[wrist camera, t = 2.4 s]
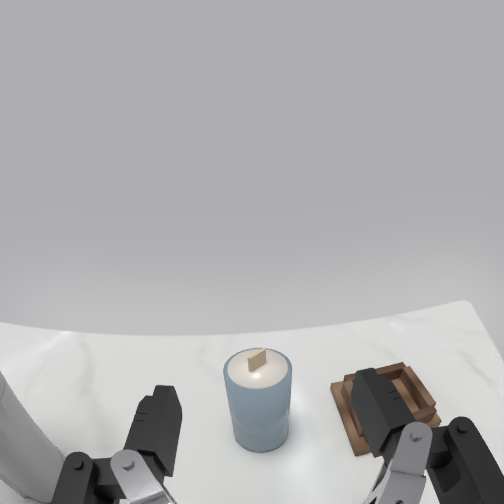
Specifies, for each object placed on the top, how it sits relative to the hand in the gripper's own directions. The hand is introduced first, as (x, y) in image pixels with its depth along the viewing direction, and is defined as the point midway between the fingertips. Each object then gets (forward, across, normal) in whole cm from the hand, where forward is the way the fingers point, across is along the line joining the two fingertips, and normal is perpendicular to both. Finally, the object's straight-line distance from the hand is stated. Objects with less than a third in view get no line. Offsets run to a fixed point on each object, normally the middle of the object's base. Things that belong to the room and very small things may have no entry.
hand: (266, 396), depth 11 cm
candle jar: (+11, 0, +19) cm, 22 cm away
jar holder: (+11, -16, +19) cm, 28 cm away
